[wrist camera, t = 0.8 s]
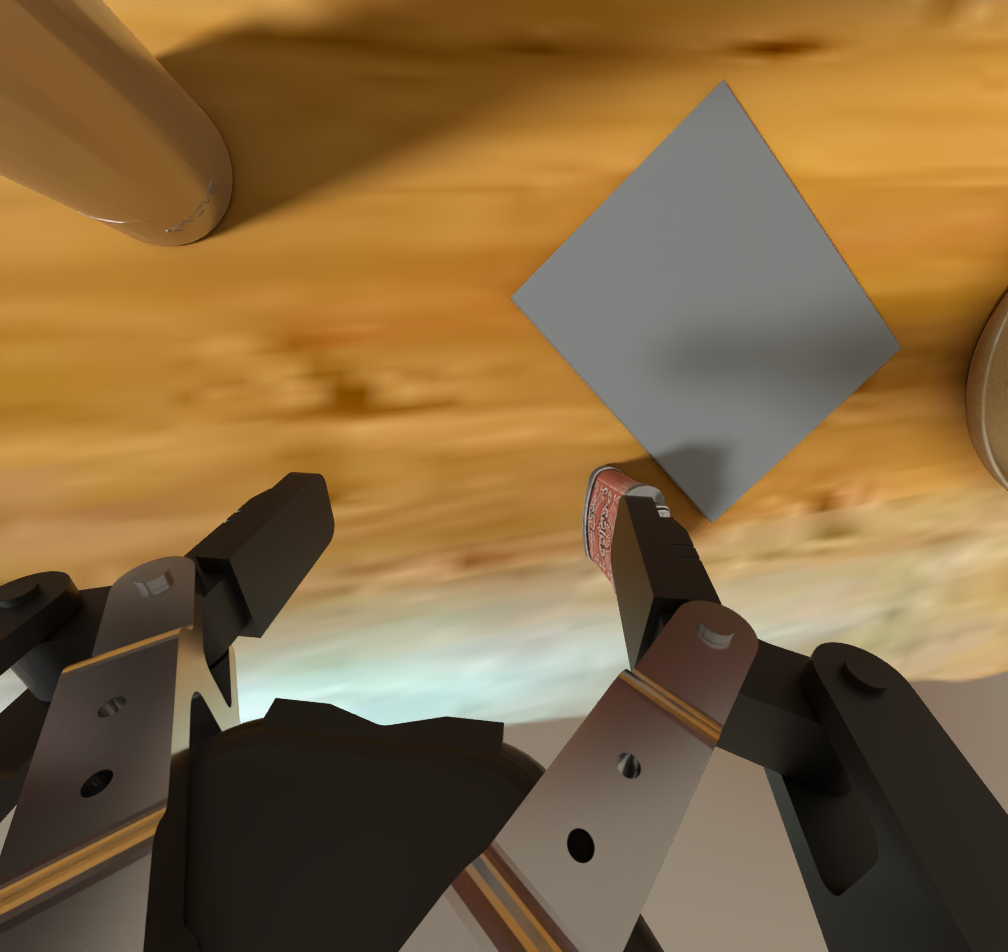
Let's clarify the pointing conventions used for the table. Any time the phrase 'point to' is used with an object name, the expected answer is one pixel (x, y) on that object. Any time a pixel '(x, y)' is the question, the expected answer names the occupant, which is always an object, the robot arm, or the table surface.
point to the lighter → (610, 511)
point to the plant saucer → (990, 395)
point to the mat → (709, 308)
